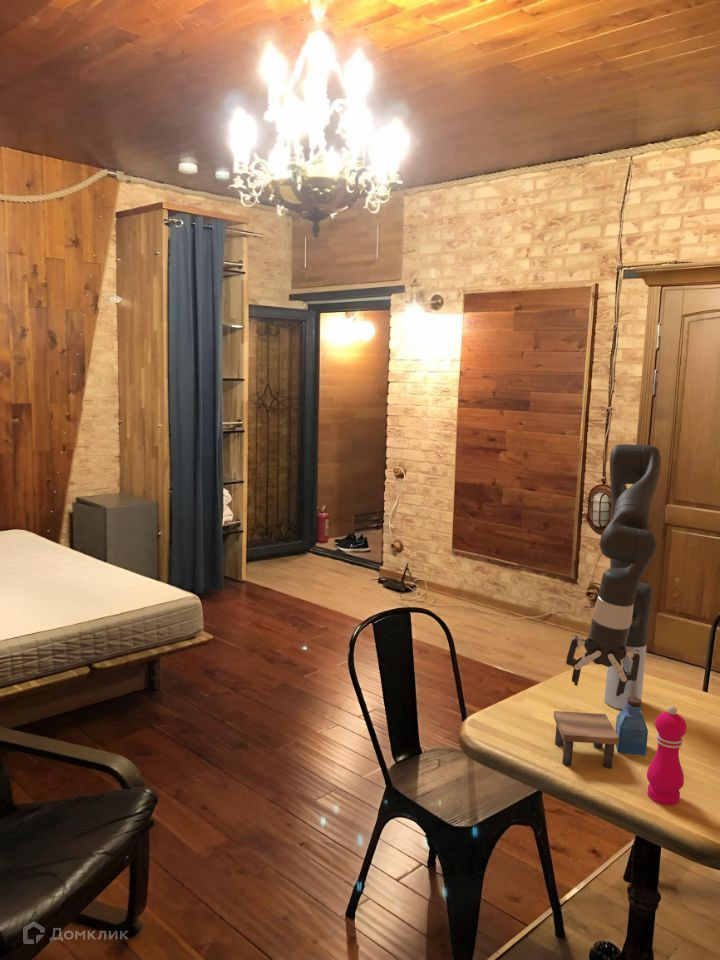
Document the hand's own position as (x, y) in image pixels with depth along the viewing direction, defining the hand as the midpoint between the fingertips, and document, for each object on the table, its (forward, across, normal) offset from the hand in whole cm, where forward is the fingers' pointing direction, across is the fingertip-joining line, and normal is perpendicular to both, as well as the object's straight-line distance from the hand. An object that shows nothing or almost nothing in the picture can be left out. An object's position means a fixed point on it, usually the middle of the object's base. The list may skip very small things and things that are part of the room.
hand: (596, 689), depth 165 cm
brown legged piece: (+22, -1, -9) cm, 24 cm away
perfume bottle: (+22, -11, -17) cm, 30 cm away
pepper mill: (+19, -17, +3) cm, 26 cm away
